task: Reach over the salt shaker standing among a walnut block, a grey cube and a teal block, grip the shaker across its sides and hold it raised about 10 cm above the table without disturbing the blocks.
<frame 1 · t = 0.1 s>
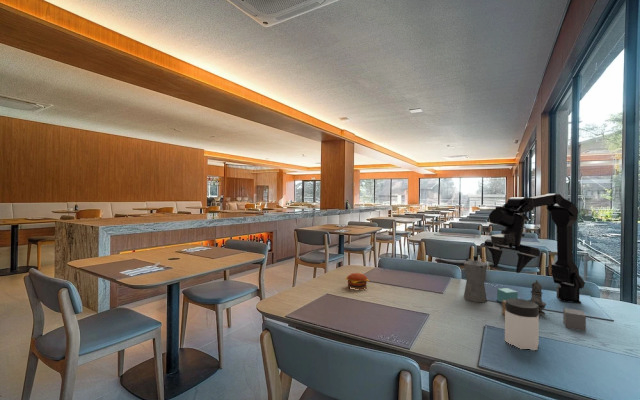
hand: (506, 269, 113), 15 cm above the table, tool pointing down, fingers open, 9 cm apart
grey cube: (574, 326, 100), on the table
walnut block: (512, 316, 108), on the table
coffeepot: (473, 298, 128), on the table
hamburger: (357, 287, 143), on the table
teal block: (507, 302, 122), on the table
salt shaker: (536, 312, 112), on the table
jar: (521, 344, 88), on the table
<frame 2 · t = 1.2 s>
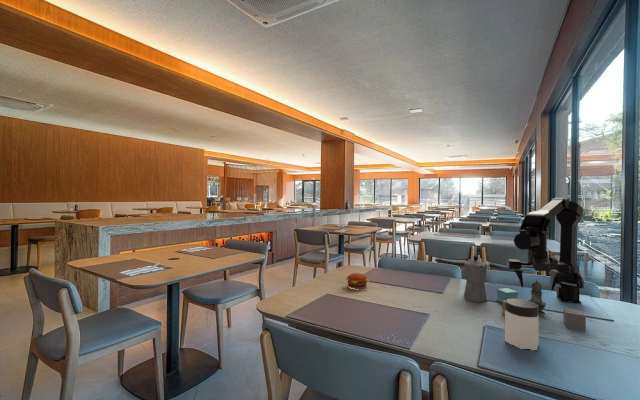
hand: (536, 288, 112), 9 cm above the table, tool pointing down, fingers open, 9 cm apart
nothing on the table moved.
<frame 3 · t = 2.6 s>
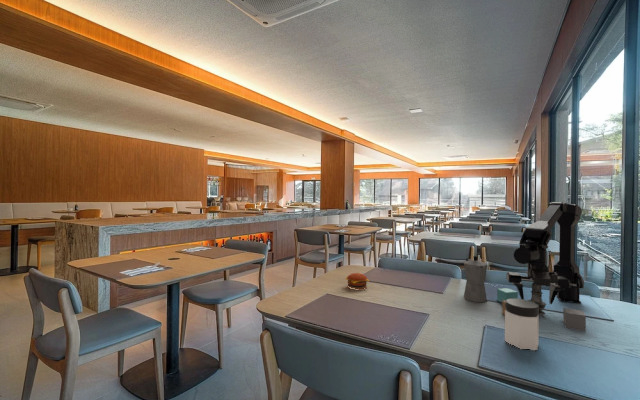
hand: (536, 302, 112), 4 cm above the table, tool pointing down, fingers closed on salt shaker, 8 cm apart
salt shaker: (536, 312, 112), on the table, touching gripper
everything else where it was.
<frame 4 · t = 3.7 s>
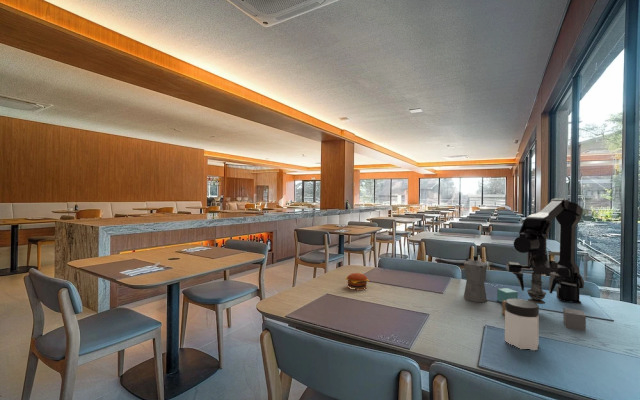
hand: (536, 291, 112), 8 cm above the table, tool pointing down, fingers closed on salt shaker, 8 cm apart
salt shaker: (536, 301, 112), point 4 cm above the table, touching gripper
everything else where it was.
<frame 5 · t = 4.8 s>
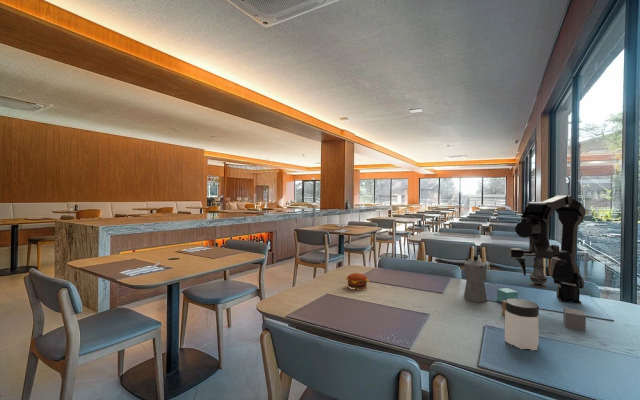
hand: (538, 276, 113), 13 cm above the table, tool pointing down, fingers closed on salt shaker, 8 cm apart
salt shaker: (538, 286, 113), point 9 cm above the table, touching gripper
everything else where it was.
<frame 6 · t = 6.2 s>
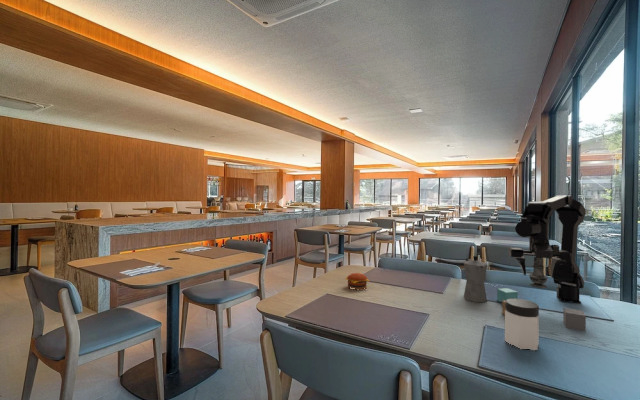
hand: (538, 276, 113), 13 cm above the table, tool pointing down, fingers closed on salt shaker, 8 cm apart
salt shaker: (538, 286, 113), point 9 cm above the table, touching gripper
everything else where it was.
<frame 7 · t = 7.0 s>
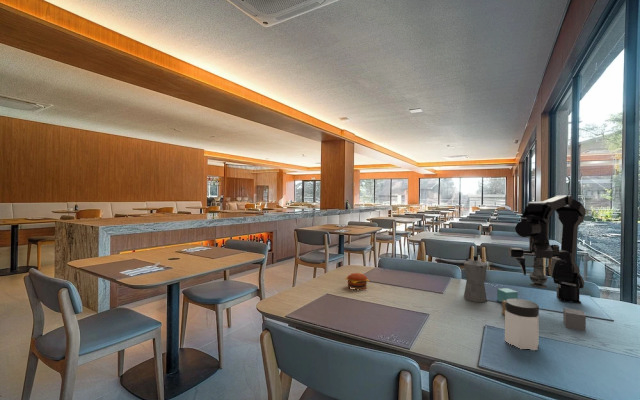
hand: (538, 276, 113), 13 cm above the table, tool pointing down, fingers closed on salt shaker, 8 cm apart
salt shaker: (538, 286, 113), point 9 cm above the table, touching gripper
everything else where it was.
at the end: the gripper is holding salt shaker; salt shaker point 9.2 cm above the table; teal block moved 0.1 cm from its start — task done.
